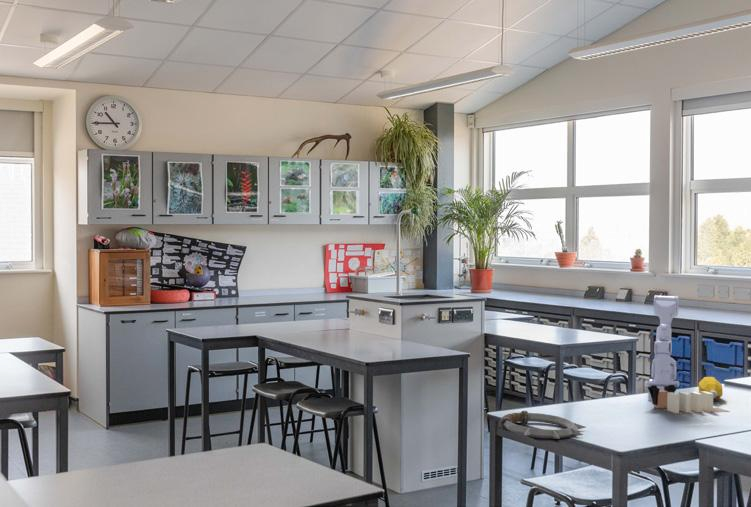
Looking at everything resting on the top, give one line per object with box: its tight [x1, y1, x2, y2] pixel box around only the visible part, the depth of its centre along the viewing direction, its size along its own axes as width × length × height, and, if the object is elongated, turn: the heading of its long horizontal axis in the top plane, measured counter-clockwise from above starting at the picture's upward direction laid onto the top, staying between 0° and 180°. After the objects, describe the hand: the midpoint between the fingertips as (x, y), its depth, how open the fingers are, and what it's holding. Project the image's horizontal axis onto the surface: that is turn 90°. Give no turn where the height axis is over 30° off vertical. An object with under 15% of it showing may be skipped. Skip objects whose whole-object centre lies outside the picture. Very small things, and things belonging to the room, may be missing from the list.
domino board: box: [659, 407, 731, 415], centre depth 329 cm, size 26×8×1 cm, turn 104°
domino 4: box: [689, 391, 702, 412], centre depth 329 cm, size 2×5×7 cm, turn 14°
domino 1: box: [653, 391, 668, 409], centre depth 334 cm, size 2×5×7 cm, turn 104°
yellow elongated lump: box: [698, 376, 723, 402], centre depth 356 cm, size 10×30×10 cm, turn 163°
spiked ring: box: [498, 410, 587, 440], centre depth 291 cm, size 33×4×30 cm
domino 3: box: [678, 391, 691, 412], centre depth 328 cm, size 2×5×7 cm, turn 14°
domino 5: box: [701, 391, 714, 412], centre depth 330 cm, size 2×5×7 cm, turn 14°
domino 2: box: [666, 392, 680, 413], centre depth 327 cm, size 2×5×7 cm, turn 14°
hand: (661, 404), depth 335 cm, fingers closed on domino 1, 5 cm apart
